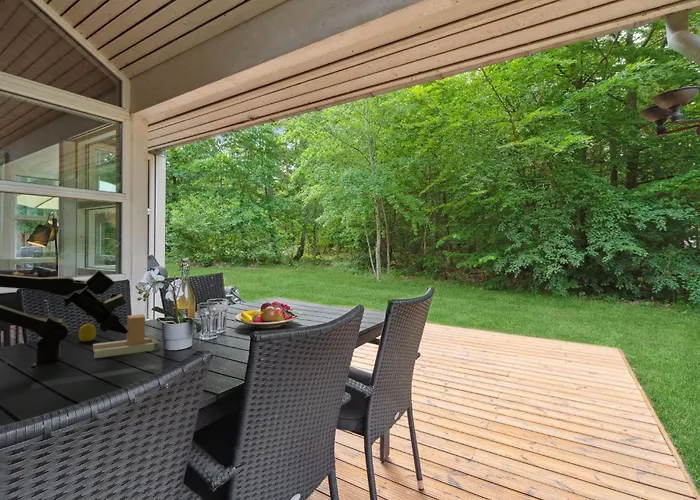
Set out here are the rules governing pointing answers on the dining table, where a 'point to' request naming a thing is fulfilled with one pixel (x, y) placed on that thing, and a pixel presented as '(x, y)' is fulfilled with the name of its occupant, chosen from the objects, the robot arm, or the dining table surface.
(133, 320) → the block
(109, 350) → the chute
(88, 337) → the lemon
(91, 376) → the dining table surface
